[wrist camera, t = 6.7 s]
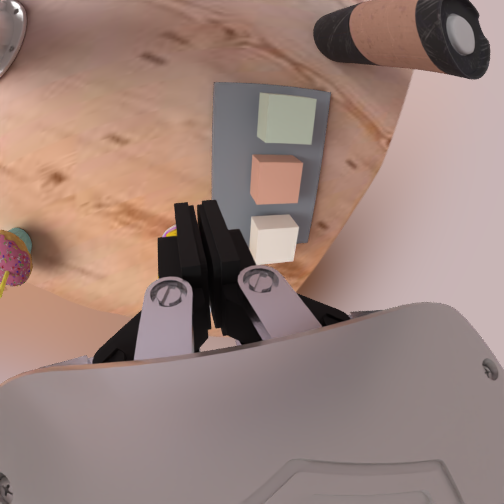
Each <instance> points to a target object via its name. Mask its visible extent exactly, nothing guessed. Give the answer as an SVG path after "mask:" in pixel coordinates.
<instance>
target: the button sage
mask: <svg viewBox="0 0 504 504" xmlns="http://www.w3.org/2000/svg"><path fill="white" fill-rule="evenodd" d="M316 101H317V99H313V98H308V97H303V96H294V95H285V94H273V93H260V98H259V112H258V126H257V137H258V138H260V139H261V140H262V141H264V142H265V143H288V144H307V145H311V143H312V135H313V127H314V119H315V110H316Z"/></svg>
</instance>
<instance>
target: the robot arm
mask: <svg viewBox="0 0 504 504" xmlns="http://www.w3.org/2000/svg"><path fill="white" fill-rule="evenodd" d="M26 24H27V17H26V11H25V9H24V7H23V6H22V5H21V4H20V3H19V2H17V1H13V0H3V1H1V0H0V77H1V76H2V75H3V74H4V73H5V72H6V70H7V69H8V68H9V66H10V65H11V63H12V62H13V61H14V59H15V57H16V55H17V53H18V51H19V49H20V47H21V44H22V42H23V38H24V35H25V31H26ZM174 208H175V220H176V230H177V236H168V237H160V238H158V276H159V279H158V280H156V281H154V282H153V283H151V284H150V285H149V287H148V288H147V290H146V292H145V296H144V302H143V307H142V310H141V311H140V312H139V313H138V314H137V315H136V316H135V317H134V318H132V319H131V320H130V321H129V322H128V323H127V324H126V325H125V326H124V327H122V328H121V329H120V330H119V331H118V332H117V333H116V334H115V335H114V336H113V337H112V338H110V339H109V340H108V341H107V342H106V343H105V344H104V345H103V346H102V347H101V348H100V349H99V350H98V351H97V352H96V354H95V355H94V357H92V358H88V357H87V355H86V356H83V357H79V358H75V359H71V360H68V361H64V362H60V363H56V364H52V365H49V366H45V367H41V368H38V369H35V370H31V371H27V372H23V373H21V374H18V375H16V376H14V377H11V378H9V379H7V380H6V381H4V382H3V383H1V384H0V504H504V370H503V368H502V366H501V365H500V364H499V362H498V360H497V359H496V357H495V356H494V354H493V353H492V351H491V350H490V348H489V347H488V346H487V344H486V343H485V342H484V340H483V339H482V337H481V336H480V335H479V334H478V332H477V331H476V330H475V329H474V328H473V326H472V325H471V324H470V323H469V322H468V321H467V319H466V318H464V317H463V316H462V315H461V314H460V313H459V312H458V311H457V310H456V309H454V308H453V307H451V306H448V305H445V304H441V303H431V302H421V303H412V304H406V305H402V306H398V307H394V308H390V309H386V310H376V311H359V312H350V314H349V315H347V314H346V313H344V312H342V311H340V310H338V309H336V308H333V307H330V306H328V305H325V304H323V303H320V302H317V301H315V300H312V299H310V298H307V297H305V296H302V295H300V294H297V293H296V292H295V291H294V290H293V289H292V287H291V286H290V285H289V283H288V282H287V281H286V280H285V278H284V277H283V276H282V275H281V274H280V273H279V272H278V271H277V270H275V269H273V268H271V267H268V266H263V265H256V263H255V261H254V258H253V256H252V254H251V252H250V250H249V248H248V246H247V244H246V241H245V239H244V237H243V235H242V233H241V231H240V229H231V230H228V228H227V226H226V223H225V221H224V218H223V216H222V213H221V211H220V208H219V206H218V203H217V201H216V200H206V201H202V204H201V205H197V216H198V224H197V220H196V215H195V211H194V206H193V205H191V206H188V202H185V203H176V204H174ZM210 308H211V312H212V316H213V320H214V324H215V328H221V330H222V334H223V336H226V335H228V336H230V337H232V338H234V339H236V345H237V346H234V347H228V348H223V349H216V350H210V351H204V352H200V347H201V345H202V344H203V343H204V342H205V341H206V340H207V339H208V330H209V329H211V317H210Z"/></svg>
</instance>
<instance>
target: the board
mask: <svg viewBox="0 0 504 504" xmlns="http://www.w3.org/2000/svg"><path fill="white" fill-rule="evenodd" d="M260 93H273V94H285V95H294V96H303V97H308V98H313V99H317V101H316V110H315V119H314V127H313V135H312V143H311V145H307V144H288V143H265V142H264V141H262V140H261V139H260V138H258V137H257V126H258V112H259V98H260ZM330 95H331V92H325V91H319V90H312V89H305V88H298V87H289V86H280V85H268V84H254V83H228V82H214V92H213V123H212V200H216V201H217V203H218V206H219V208H220V211H221V213H222V216H223V218H224V221H225V223H226V226H227V228H228V230H231V229H240V231H241V233H242V235H243V237H244V239H245V241H246V244H247V246H248V248H249V245H250V230H251V216H268V215H288V214H289V215H290V216H291V217H292V218H293V220H294V221H295V222H296V224H297V225H298V226H299V231H298V236H297V242H296V244H298V243H308V237H309V232H310V227H311V222H312V216H313V211H314V205H315V199H316V193H317V188H318V181H319V175H320V169H321V163H322V156H323V149H324V142H325V135H326V128H327V120H328V112H329V104H330ZM252 154H262V155H293V156H294V157H296V158H297V159H298V160H300V161H301V162H302V163H303V168H302V176H301V183H300V190H299V197H298V203H286V204H261V205H257V204H256V203H255V201H254V199H253V198H252V196H251V194H250V184H251V168H252Z"/></svg>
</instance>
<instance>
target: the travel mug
mask: <svg viewBox="0 0 504 504" xmlns="http://www.w3.org/2000/svg"><path fill="white" fill-rule="evenodd" d="M478 18H479V13H478V11H477V10H476V8H475V7H474V6H473V5H472V3H471V2H470V1H469V0H372V1H367V2H363V3H359V4H356V5H353V6H350V7H347V8H344V9H341V10H338V11H335V12H332V13H330V14H327V15H325V16H323V17H321V18H320V19H319V20H318V21H317V23H316V24H315V27H314V32H313V33H314V40H315V43H316V45H317V47H318V49H319V50H320V51H321V52H322V54H324V55H325V56H326V57H327V58H329V59H331V60H333V61H337V62H343V63H358V64H369V65H378V66H389V67H400V68H410V69H418V70H425V71H432V72H438V73H444V74H449V75H454V76H459V77H464V78H467V79H479V78H481V77H482V76H483V75H484V74H485V72H486V71H487V69H488V66H489V61H490V44H489V41H488V40H487V39H486V38H485V36H484V35H483V32H482V30H481V28H480V25H479V21H478Z"/></svg>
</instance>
